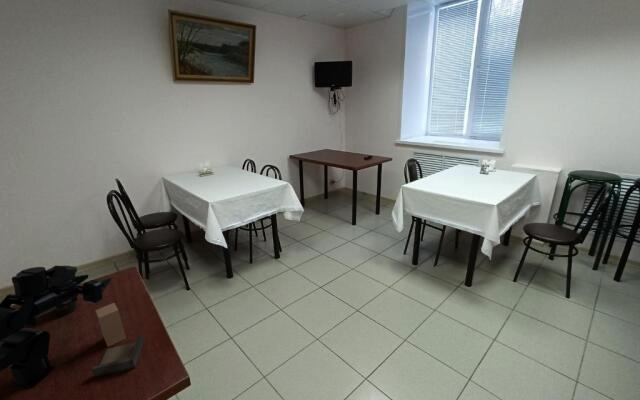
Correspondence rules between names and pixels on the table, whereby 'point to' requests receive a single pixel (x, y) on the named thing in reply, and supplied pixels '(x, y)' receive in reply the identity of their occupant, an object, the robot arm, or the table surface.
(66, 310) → the black angular block
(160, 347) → the table surface
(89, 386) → the table surface
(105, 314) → the tan block
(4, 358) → the robot arm
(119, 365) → the grey shallow square piece
